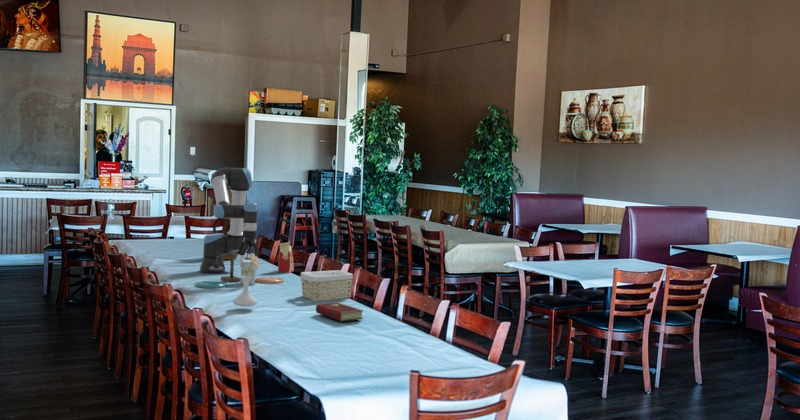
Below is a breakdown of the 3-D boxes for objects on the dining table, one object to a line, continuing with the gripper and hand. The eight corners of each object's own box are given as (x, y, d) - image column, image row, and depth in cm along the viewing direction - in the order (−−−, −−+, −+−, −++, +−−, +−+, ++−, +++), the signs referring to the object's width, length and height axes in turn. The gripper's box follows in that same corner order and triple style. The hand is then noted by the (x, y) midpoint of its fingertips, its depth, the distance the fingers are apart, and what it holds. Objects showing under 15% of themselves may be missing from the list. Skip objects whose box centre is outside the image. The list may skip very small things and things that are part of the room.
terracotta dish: (250, 280, 415) (250, 278, 415) (274, 278, 426) (274, 276, 426) (264, 284, 403) (264, 282, 403) (289, 282, 414) (289, 280, 414)
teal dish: (190, 284, 390) (190, 282, 390) (217, 282, 401) (218, 280, 401) (204, 289, 378) (204, 286, 378) (231, 287, 389) (231, 284, 389)
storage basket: (313, 305, 363) (314, 276, 362) (298, 299, 376) (299, 271, 375) (353, 301, 377) (354, 273, 376) (337, 296, 390) (338, 269, 389)
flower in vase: (245, 309, 332) (247, 255, 330) (227, 305, 338) (229, 252, 336) (264, 305, 343) (266, 253, 341) (247, 302, 349) (249, 250, 347)
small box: (255, 285, 400) (255, 261, 399) (243, 285, 397) (244, 261, 396) (251, 282, 407) (252, 259, 406) (240, 282, 404) (241, 259, 404)
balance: (204, 280, 407) (205, 246, 406) (247, 277, 425) (248, 245, 424) (214, 283, 398) (215, 249, 397) (257, 280, 416) (259, 247, 415)
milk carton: (293, 272, 456) (295, 240, 454) (290, 274, 446) (291, 242, 445) (279, 271, 456) (280, 240, 455) (275, 273, 447) (277, 241, 446)
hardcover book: (340, 321, 318) (341, 311, 317) (315, 312, 334) (316, 303, 334) (362, 319, 325) (363, 309, 325) (337, 310, 341) (337, 301, 341)
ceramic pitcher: (233, 262, 487) (235, 218, 485) (204, 261, 487) (205, 217, 485) (240, 259, 506) (242, 216, 505) (212, 257, 506) (213, 215, 505)
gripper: (232, 228, 407) (231, 265, 408) (254, 232, 388) (253, 271, 389) (244, 228, 412) (243, 265, 413) (267, 232, 393) (265, 270, 394)
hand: (248, 268), depth 401 cm, fingers open, 13 cm apart
